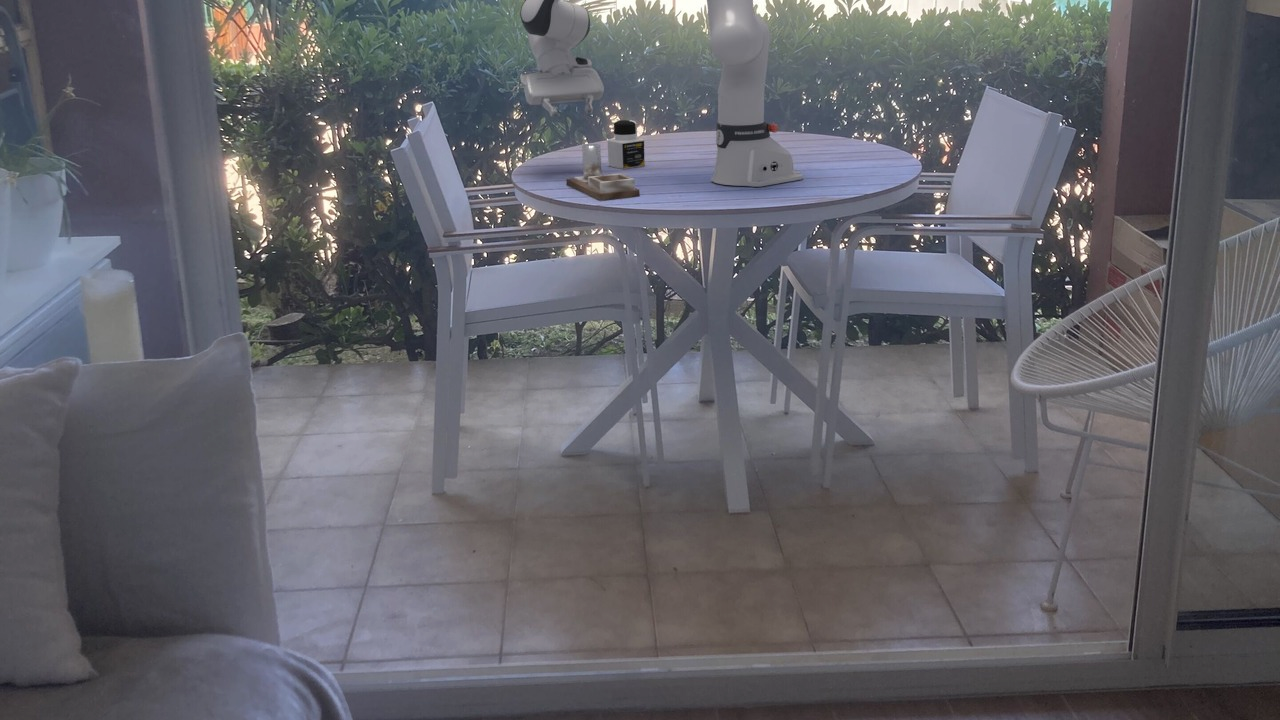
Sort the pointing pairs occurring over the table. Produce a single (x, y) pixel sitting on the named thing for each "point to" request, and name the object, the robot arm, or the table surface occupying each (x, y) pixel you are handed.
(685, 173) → the table surface
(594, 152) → the aluminium barrel nut
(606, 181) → the board
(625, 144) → the medicine bottle
